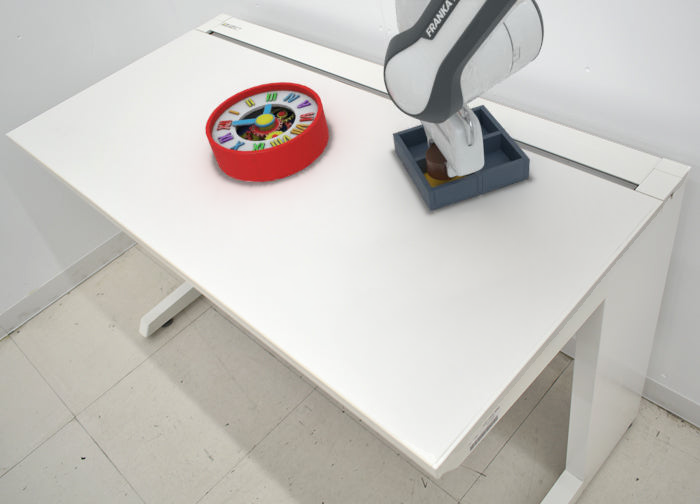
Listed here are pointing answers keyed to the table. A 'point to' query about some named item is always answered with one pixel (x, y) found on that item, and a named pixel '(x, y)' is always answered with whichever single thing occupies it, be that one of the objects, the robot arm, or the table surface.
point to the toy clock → (268, 131)
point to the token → (436, 164)
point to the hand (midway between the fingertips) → (443, 160)
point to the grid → (498, 171)
